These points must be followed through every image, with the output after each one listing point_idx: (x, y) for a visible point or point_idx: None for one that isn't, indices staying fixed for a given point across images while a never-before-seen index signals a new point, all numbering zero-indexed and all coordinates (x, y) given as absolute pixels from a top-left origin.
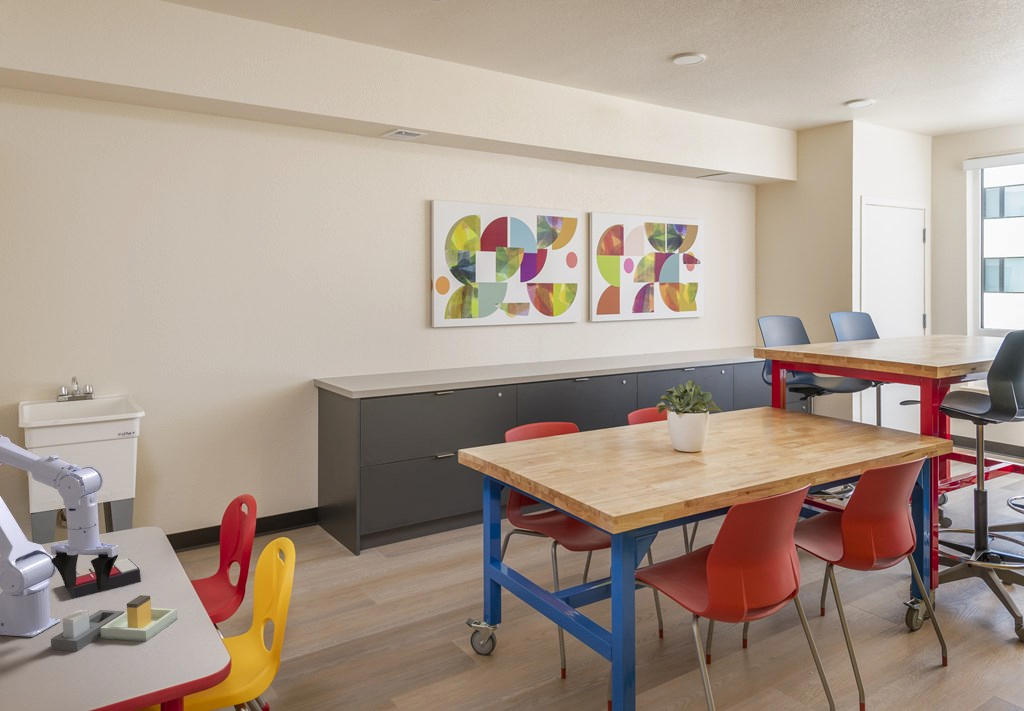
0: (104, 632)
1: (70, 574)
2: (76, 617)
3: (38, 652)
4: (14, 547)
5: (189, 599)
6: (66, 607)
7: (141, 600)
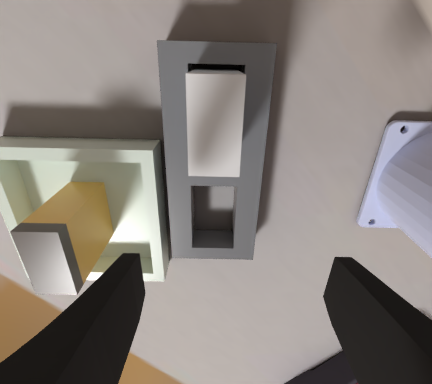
0: (140, 144)
1: (371, 347)
2: (187, 100)
3: (302, 16)
4: None
5: None
6: None
7: (26, 260)
